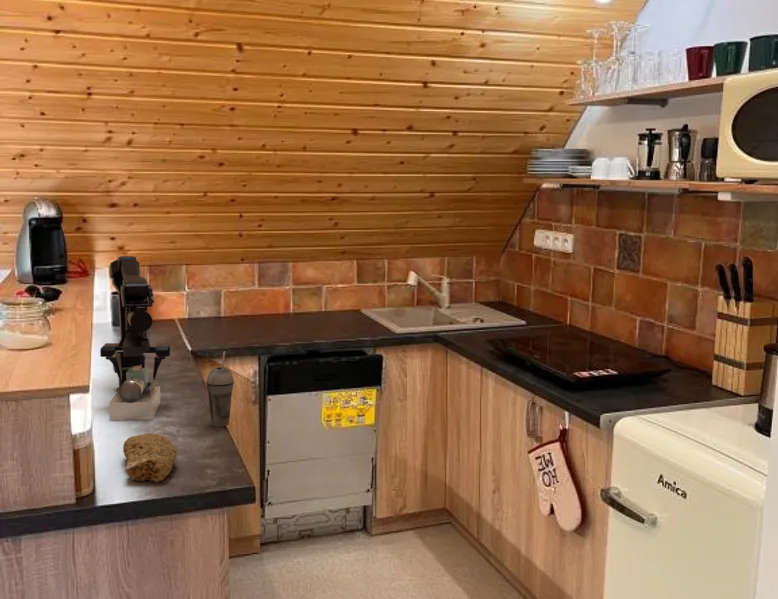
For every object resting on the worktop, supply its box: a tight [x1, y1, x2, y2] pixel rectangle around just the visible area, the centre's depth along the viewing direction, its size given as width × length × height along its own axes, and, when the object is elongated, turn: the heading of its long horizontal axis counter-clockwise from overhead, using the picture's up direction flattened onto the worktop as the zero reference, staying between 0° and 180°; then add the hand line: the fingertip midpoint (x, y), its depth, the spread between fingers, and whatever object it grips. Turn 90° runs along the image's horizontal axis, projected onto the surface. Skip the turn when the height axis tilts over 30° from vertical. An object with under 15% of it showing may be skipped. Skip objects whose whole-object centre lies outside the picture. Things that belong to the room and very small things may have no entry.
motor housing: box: [108, 376, 161, 421], centre depth 213 cm, size 16×11×11 cm
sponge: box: [122, 432, 178, 483], centre depth 172 cm, size 13×8×20 cm
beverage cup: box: [205, 350, 235, 428], centre depth 204 cm, size 7×7×20 cm
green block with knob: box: [126, 366, 149, 389], centre depth 216 cm, size 5×5×7 cm
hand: (137, 379), depth 216 cm, fingers open, 9 cm apart
